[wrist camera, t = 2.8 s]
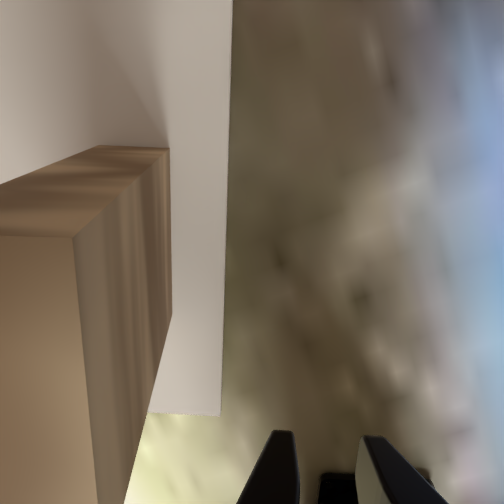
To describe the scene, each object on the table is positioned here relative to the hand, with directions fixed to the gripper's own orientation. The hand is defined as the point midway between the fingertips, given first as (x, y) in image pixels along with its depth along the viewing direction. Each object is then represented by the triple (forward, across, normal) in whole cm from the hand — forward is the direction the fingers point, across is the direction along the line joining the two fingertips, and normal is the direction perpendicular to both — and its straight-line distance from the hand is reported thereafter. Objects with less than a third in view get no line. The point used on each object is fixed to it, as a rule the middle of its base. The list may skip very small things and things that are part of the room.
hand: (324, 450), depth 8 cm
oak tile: (+12, +7, 0) cm, 14 cm away
